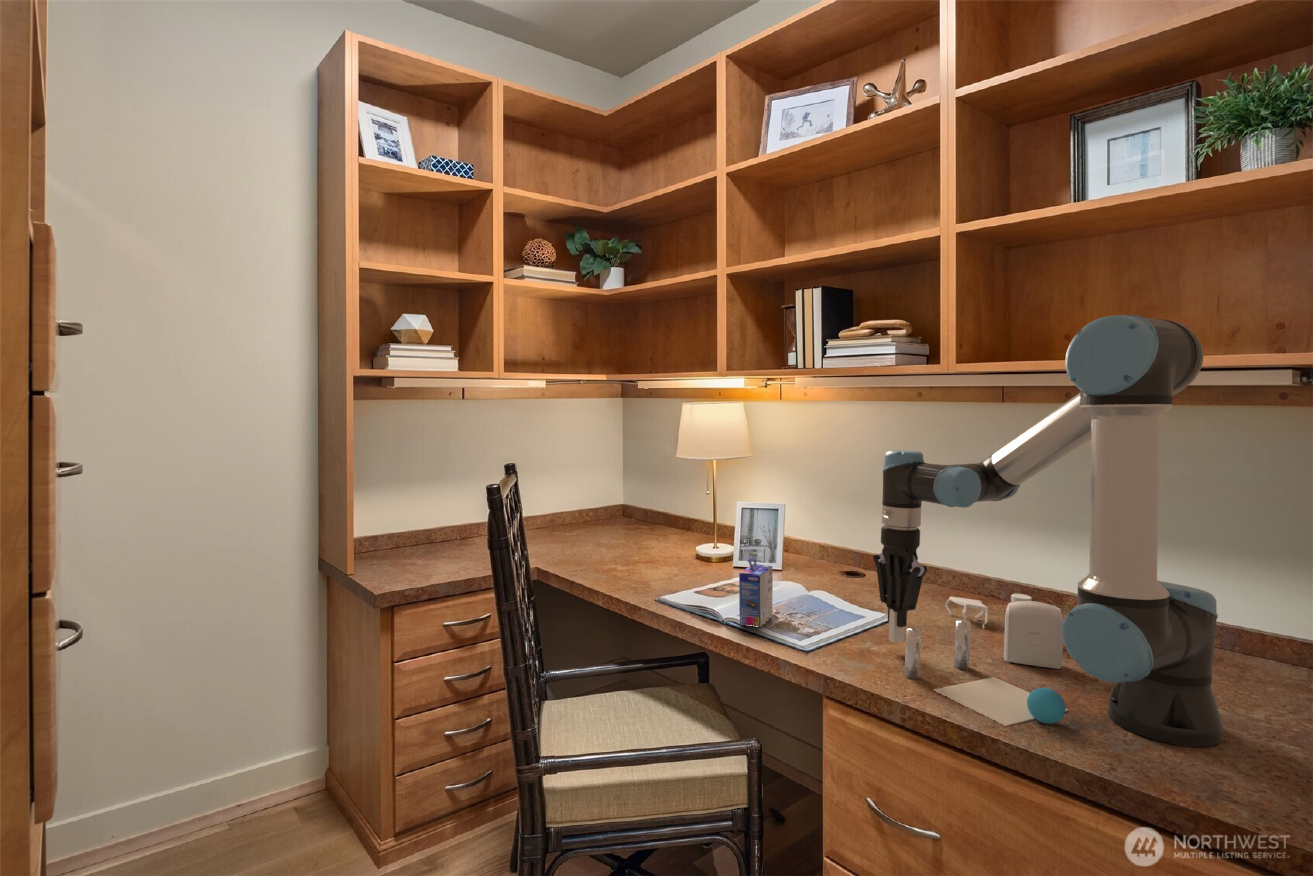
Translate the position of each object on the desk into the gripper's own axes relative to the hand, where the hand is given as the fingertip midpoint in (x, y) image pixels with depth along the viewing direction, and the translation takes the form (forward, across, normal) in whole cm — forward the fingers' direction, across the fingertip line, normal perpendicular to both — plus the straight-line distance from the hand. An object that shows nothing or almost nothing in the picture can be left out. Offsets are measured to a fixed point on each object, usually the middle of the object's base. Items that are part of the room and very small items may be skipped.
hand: (896, 640), depth 147 cm
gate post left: (+2, +11, -6) cm, 13 cm away
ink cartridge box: (+3, -28, -16) cm, 32 cm away
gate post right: (+2, +11, +6) cm, 13 cm away
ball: (0, +34, 0) cm, 34 cm away
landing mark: (+2, +25, 0) cm, 25 cm away
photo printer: (+3, +15, +21) cm, 26 cm away
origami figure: (+3, -10, +31) cm, 33 cm away
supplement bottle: (+3, +4, +31) cm, 31 cm away
